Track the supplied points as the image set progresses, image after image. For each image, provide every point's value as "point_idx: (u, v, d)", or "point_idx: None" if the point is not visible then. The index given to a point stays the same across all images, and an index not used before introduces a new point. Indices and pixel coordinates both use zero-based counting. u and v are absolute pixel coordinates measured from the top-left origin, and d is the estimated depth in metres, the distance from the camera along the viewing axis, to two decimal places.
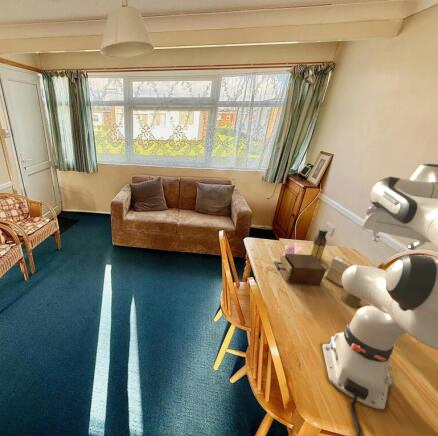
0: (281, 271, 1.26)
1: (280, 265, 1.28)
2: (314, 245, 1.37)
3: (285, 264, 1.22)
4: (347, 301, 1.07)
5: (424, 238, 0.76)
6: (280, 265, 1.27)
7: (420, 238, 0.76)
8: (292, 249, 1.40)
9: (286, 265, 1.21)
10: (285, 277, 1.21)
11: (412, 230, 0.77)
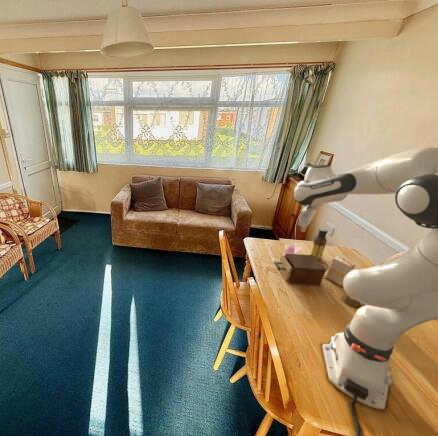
0: (281, 271, 1.26)
1: (280, 265, 1.28)
2: (314, 245, 1.37)
3: (285, 264, 1.22)
4: (347, 301, 1.07)
5: (315, 211, 1.08)
6: (280, 265, 1.27)
7: (314, 212, 1.08)
8: (292, 249, 1.40)
9: (286, 265, 1.21)
10: (285, 277, 1.21)
11: (314, 210, 1.05)
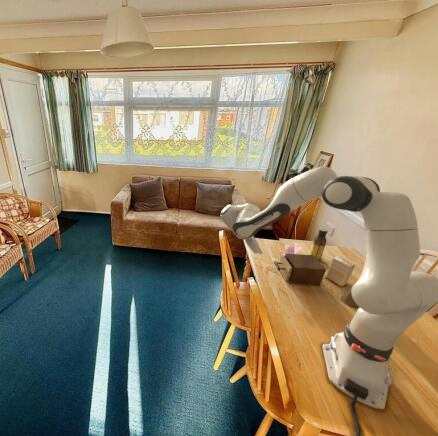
0: (281, 271, 1.26)
1: (280, 265, 1.28)
2: (314, 245, 1.37)
3: (285, 264, 1.22)
4: (347, 301, 1.07)
5: None
6: (280, 265, 1.27)
7: None
8: (292, 249, 1.40)
9: (286, 265, 1.21)
10: (285, 277, 1.21)
11: None
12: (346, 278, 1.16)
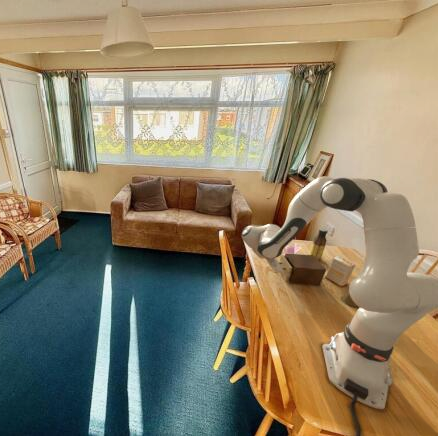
0: None
1: None
2: (314, 245, 1.37)
3: (285, 264, 1.22)
4: (347, 301, 1.07)
5: None
6: None
7: None
8: (292, 249, 1.40)
9: (286, 265, 1.21)
10: (285, 277, 1.21)
11: None
12: (346, 278, 1.16)
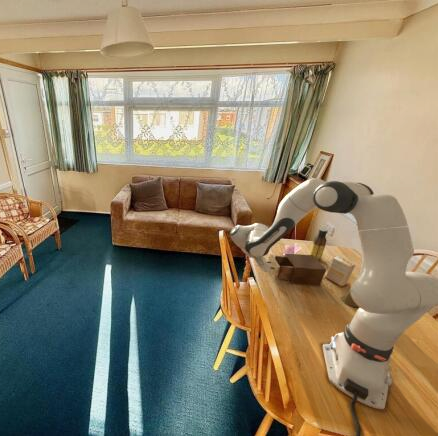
0: None
1: (269, 264, 1.28)
2: (314, 245, 1.37)
3: (273, 263, 1.23)
4: (347, 301, 1.07)
5: None
6: (269, 264, 1.28)
7: None
8: (292, 249, 1.40)
9: (274, 264, 1.22)
10: (273, 276, 1.22)
11: None
12: (346, 278, 1.16)
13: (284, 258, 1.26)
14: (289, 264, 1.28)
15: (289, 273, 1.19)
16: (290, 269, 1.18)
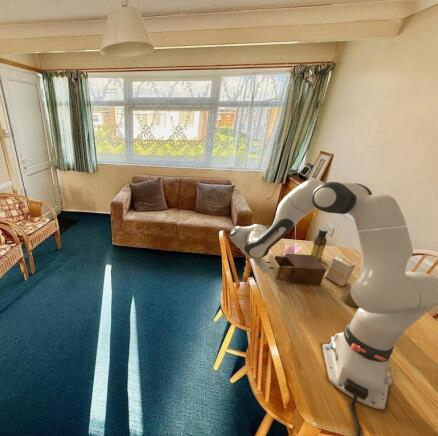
0: None
1: (269, 264, 1.28)
2: (314, 245, 1.37)
3: (273, 263, 1.23)
4: (347, 301, 1.07)
5: None
6: (269, 264, 1.28)
7: None
8: (292, 249, 1.40)
9: (274, 264, 1.22)
10: (273, 276, 1.22)
11: None
12: (346, 278, 1.16)
13: (284, 258, 1.26)
14: (289, 264, 1.28)
15: (289, 273, 1.20)
16: (290, 269, 1.18)
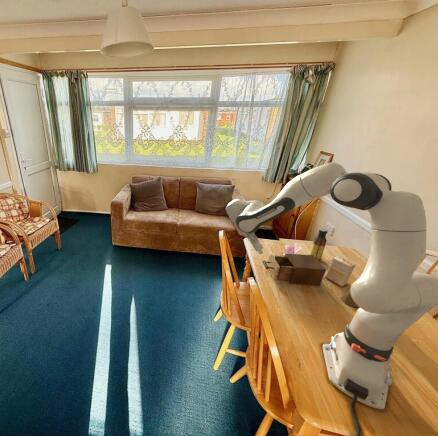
0: (270, 270, 1.27)
1: (269, 264, 1.28)
2: (314, 245, 1.37)
3: (273, 263, 1.23)
4: (347, 301, 1.07)
5: None
6: (269, 264, 1.28)
7: None
8: (292, 249, 1.40)
9: (274, 264, 1.22)
10: (273, 276, 1.22)
11: None
12: (346, 278, 1.16)
13: (284, 258, 1.26)
14: (289, 264, 1.28)
15: (289, 273, 1.20)
16: (290, 269, 1.18)
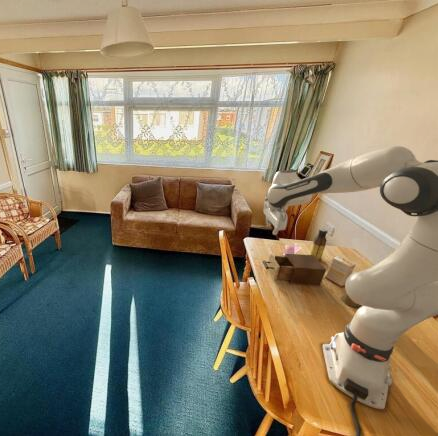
0: (270, 270, 1.27)
1: (269, 264, 1.28)
2: (314, 245, 1.37)
3: (273, 263, 1.23)
4: (347, 301, 1.07)
5: None
6: (269, 264, 1.28)
7: None
8: (292, 249, 1.40)
9: (274, 264, 1.22)
10: (273, 276, 1.22)
11: None
12: (346, 278, 1.16)
13: (284, 258, 1.26)
14: (289, 264, 1.28)
15: (289, 273, 1.20)
16: (290, 269, 1.18)
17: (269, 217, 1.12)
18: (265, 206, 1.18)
